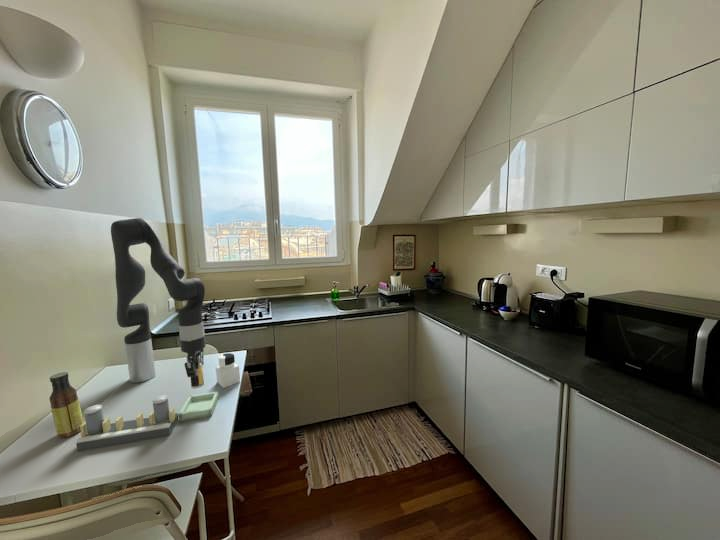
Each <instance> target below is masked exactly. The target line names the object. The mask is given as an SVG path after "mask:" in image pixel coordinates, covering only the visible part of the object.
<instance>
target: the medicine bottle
mask: <svg viewBox="0 0 720 540" xmlns="http://www.w3.org/2000/svg"><path fill="white" fill-rule="evenodd" d="M215 373H216V383H218V385H220V386H221V388H222V389H224V388H228V387H230V386H233V385H235V384H238V383H240V382H241V375H240V374H241V373H240V366H239V365H238V364H237V363H236V361H235V354H234V353H231V352H229V353H223V354H221V355H219V356H218V365H217V366H215Z"/></svg>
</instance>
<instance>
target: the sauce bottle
mask: <svg viewBox="0 0 720 540" xmlns="http://www.w3.org/2000/svg"><path fill="white" fill-rule="evenodd" d="M68 373H69V372H67V371H62V372H57V373H54V374H52V375H51V376H49V382H50V383H51V387H52V392H51V394H50V396H49V402H50V409H51V413H52V418H53V422H54V425H55V429H56V434H57V436H58V437H59V438H67V437H71V436H74V435H76V434H79V433H81V430H80V426H81V425H82V424H83V423H84V418H83V413H82V410H81V409H82V408H81V404H80V400H79V397H78V394H77V390H76V388H74V387H73V386H72V385H71V384H70V380H69V374H68Z"/></svg>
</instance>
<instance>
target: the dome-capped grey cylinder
mask: <svg viewBox="0 0 720 540" xmlns="http://www.w3.org/2000/svg"><path fill="white" fill-rule="evenodd" d="M83 412H84V419H85V422H86V427H87V433H88V436H92V435H99V434H102V433H103V426H102V423H103V422H104V421H105V419H104V411H103V405H102V404H95V405H92V406H89V407H87V408H85V409H84V410H83Z"/></svg>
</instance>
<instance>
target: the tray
mask: <svg viewBox="0 0 720 540" xmlns="http://www.w3.org/2000/svg"><path fill="white" fill-rule="evenodd" d="M219 394H220V393H219V391H213V392H205V393H199V394H193V395H189V396H188V397H187V399H186V401H185V402H184V404H183V406H182V407H181V409H180V411H179V413H178V422H183V421H184V422H185V421H191V420H197V419H202V418H203V419H204V418H208V417H212V416H213V413H214V411H215V409H216V406H217V403H218V401H219V399H220V396H219Z"/></svg>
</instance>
